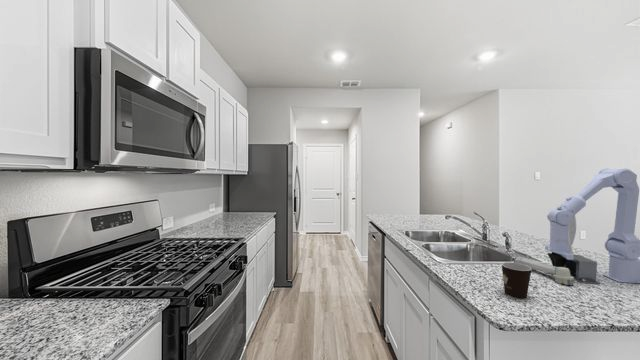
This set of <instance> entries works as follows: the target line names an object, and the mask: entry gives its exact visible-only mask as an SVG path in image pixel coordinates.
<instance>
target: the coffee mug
mask: <svg viewBox="0 0 640 360" xmlns="http://www.w3.org/2000/svg"><path fill="white" fill-rule="evenodd" d="M501 270H502V271H501V272H502V280H503V289H504V294H505V295H506V296H508V297H510V298H513V299H519V300H523V299H524V300H525V299H527V298H528V292H529V286H530V281H531V276H532V275H531V274H532V270H533V269H532V268H531V267H529V266H526V265H523V264H519V263H514V262H508V261H507V262H501Z"/></svg>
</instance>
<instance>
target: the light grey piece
mask: <svg viewBox="0 0 640 360" xmlns="http://www.w3.org/2000/svg"><path fill="white" fill-rule="evenodd" d="M513 263H519V264H523V265H526V266H529V267H531V268H532V270H536V271H539V272H543V273H547V274H551V275H553V278H554V282H556V283H557V284H560V285H562V284H564V285H565V286H566V285H567V286H573V285H574V280H575V277H574V276H572V274H570V270H569V269H568V268H564V267H555V266H553V265H552V264H548V263H543V262H540V261H537V260H533V259H529V258H527V257H526V256H525V257H524V256H515V257H514V259H513Z"/></svg>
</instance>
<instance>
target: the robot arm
mask: <svg viewBox="0 0 640 360" xmlns="http://www.w3.org/2000/svg"><path fill="white" fill-rule="evenodd" d="M637 179H638V175H637V173H635V171H632V170H631V169H629V168H604V169H600V171H598V173H596V174H595V175H594V177H593V179H592V180H591V181H590V182H589V183H588V184H587V185H586V186H585V187H583V188H582V189H581V191H580V192H579V193H578V194H576V195H570V196H567V197H566V198H565V201H564V202H562V203H561V204H560V206H559V205H558V206H556V208H555V209H551V210H550V211H549V212H548V214H547V216H546V217H547V220H548V221H549V225H550V226H549V227H550V228H549V229H550V232H549V244H546V245H544V246H545V247H544V249H545V250H546V251H547V252H549V253H547V255H548V258H549V259H550V262H551V265H552V266H555V267H564V266H565V264H566V262H567V261H568V260H574V255H575V254H574V253H573V254H574V255H573V254H571V253H570V252H569V251H568V230H569V224H570V223H572V221H573V217H574V215H575V216H576V215H577V214H578V213H579V212H580V211H581V210H583V209H584V208H585V207H586V206H587V201H588V200H589V199H591V198H592V197H593V196H594V195H596V194H597V193H599V192H600V191H601V190H602V189H604V188H605V189H606V188H611V189H613V190H614V191H616V192H617V202H616V210H615V211H616V212H615V220H614V229H613V231H612V232H610V233H609V234H608V237H607V239H606V241H605V242H604V248H605V249H606V251H607V252H608V255H609V260H608V273H602V276H605V277H606V278H608V279H611V280H613V281H616V282H618V283H631V284H640V239H639V238H638V237H637V236H636V234H635V231H636V224H637V223H636V220H637V213H638V204H639V196H640V187H639V184H638V182H637Z"/></svg>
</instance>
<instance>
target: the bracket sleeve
mask: <svg viewBox="0 0 640 360" xmlns="http://www.w3.org/2000/svg"><path fill="white" fill-rule="evenodd" d="M597 265H598V261H595V260H593V259H591V258H588V257H585V256H583V255H580V254H574V260H568V261H567V262H566V264H565V266H564V268H568V269H569V270H570V275H575V280H577V282H578V283H580V284H584V285H585V284H589V285H601V283H600V281H597V273H598V269H597V267H598V266H597Z"/></svg>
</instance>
